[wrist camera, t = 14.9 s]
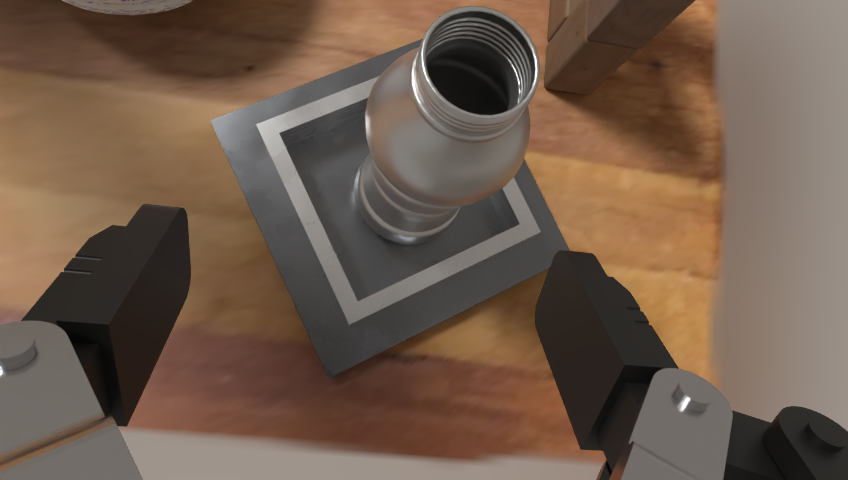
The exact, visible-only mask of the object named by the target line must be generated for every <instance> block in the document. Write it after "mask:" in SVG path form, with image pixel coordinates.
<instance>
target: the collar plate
mask: <svg viewBox="0 0 848 480" xmlns="http://www.w3.org/2000/svg"><path fill="white" fill-rule="evenodd" d="M422 40H423V39H421V40H418V41H416V42H413V43H411V44H408V45H405V46H403V47H400V48H398V49H395V50H392V51H390V52H387V53H384V54H382V55H379V56H377V57H374V58H371V59H369V60H366V61H364V62H361V63H358V64H356V65H353V66H351V67H348V68H345V69H343V70H340V71H338V72H335V73H332V74H330V75H327V76H325V77H322V78H319V79H317V80H314V81H312V82H309V83H306V84H304V85H301V86H299V87H296V88H293V89H291V90H288V91H286V92H283V93H280V94H278V95H275V96H272V97H270V98H267V99H265V100H262V101H259V102H257V103H254V104H252V105H249V106H246V107H244V108H241V109H239V110H236V111H233V112H231V113H228V114H226V115H223V116H220V117H218V118H215V119H213V120H210V121H211V123H212V126H213V128H214V130H215V132H216V134H217V137H218V139H219V141H220V143H221V145H222V147H223V150H224V152H225V154H226V156H227V158H228V160H229V163H230V165H231V167H232V169H233V171H234V173H235V176H236V178H237V180H238V182H239V184H240V187H241V189H242V191H243V193H244V195H245V197H246V200H247V202H248V204H249V206H250V208H251V210H252V213H253V215H254V217H255V219H256V221H257V224H258V226H259V228H260V230H261V232H262V234H263V237H264V239H265V241H266V243H267V245H268V247H269V250H270V252H271V254H272V256H273V258H274V260H275V263H276V265H277V267H278V269H279V271H280V274H281V276H282V278H283V280H284V282H285V284H286V287H287V289H288V291H289V293H290V295H291V297H292V300H293V302H294V304H295V306H296V308H297V311H298V313H299V315H300V317H301V319H302V321H303V324H304V326H305V328H306V330H307V332H308V334H309V337H310V339H311V341H312V343H313V345H314V348H315V350H316V352H317V354H318V356H319V358H320V361H321V363H322V365H323V367H324V369H325V371H326V374H327V376H328V378H331V377H333V376H335V375H337V374H339V373H341V372H343V371H345V370H347V369H349V368H351V367H353V366H355V365H357V364H359V363H361V362H363V361H365V360H367V359H369V358H371V357H373V356H375V355H377V354H379V353H381V352H383V351H385V350H387V349H389V348H391V347H393V346H395V345H397V344H399V343H401V342H403V341H405V340H407V339H409V338H411V337H413V336H415V335H417V334H419V333H421V332H423V331H425V330H427V329H429V328H431V327H433V326H435V325H437V324H439V323H441V322H443V321H445V320H447V319H449V318H451V317H453V316H454V315H456V314H458V313H460V312H462V311H464V310H466V309H468V308H470V307H472V306H474V305H476V304H478V303H480V302H482V301H484V300H486V299H488V298H490V297H492V296H494V295H496V294H498V293H500V292H502V291H504V290H506V289H508V288H510V287H512V286H514V285H516V284H518V283H520V282H522V281H524V280H526V279H528V278H530V277H532V276H534V275H536V274H538V273H540V272H542V271H544V270H546V269H548V268H550V266H551V263H552V260H553V258H554V256H555V254H556V253H557V252H558V251H559V250H565V251H569V249H568V247H567V245H566V243H565V241H564V239H563V237H562V235H561V233H560V231H559V229H558V227H557V225H556V223H555V221H554V219H553V217H552V215H551V213H550V211H549V209H548V207H547V205H546V203H545V201H544V199H543V197H542V195H541V192H540V190H539V188H538V186H537V184H536V182H535V180H534V178H533V176H532V174H531V172H530V170H529V168H528V166H527V164H526V162H525V160H523V163H522V165H521V166H520V168H519V170H518V171H517V173H516V175H515V176H514V177H513V178H512V179H511V180H510V181H509V183H508V184H507V185H506V186H505V187H503V188H502V189H500V190H499V191H497V192H496V193H495V194H493V195H491V196H489V197H487V198H485V199H483V200H481V201H478V202H476V203H473V204H470V205H465V206H462V207H461V210H460V212H459V214H458V217H457V218H456V220H455V222H454V223H453V225H452V226H451V227H450V228H449V229H448V230H447V231H446V232H445V233H444V234H442V235H441V236H440V237H438V238H436V239H434V240H432V241H429V242H426V243H421V244H402V243H396V242H393V241H391V240H388V239H386V238H384V237H382V236H381V235H379V234H377V233H376V232H375V231H374V230H373V229H372V228H371V227H370V226H368V224H367V223H366V222H365V220H364V219H363V218H362V216H361V214H360V212H359V210H358V208H357V205H356V201H355V196H354V184H355V178H356V174H357V172H358V169H359V167H360V165H361V164H362V162H363V161H364V159H365V158H366V157H367V155H368V154H369V153H370V150H369V146H368V142H367V139H366V123H365V112H366V106H367V100H368V97H369V95H370V92H371V90H372V87H373V85H374V84H375V82H376V81H377V79H378V78H379V76H380V75H381V73H382V72H383V71H385V70H386V69H387V68H388V67H389V66H390V65H391V64H392V63H393V62H394V61H396V60H397V59H398V58H399V57H401V56H402V55H404V54H406V53H407V52H409V51H411V50H413V49H416V48H418V47H420V45H421V42H422Z"/></svg>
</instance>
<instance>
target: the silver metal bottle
mask: <svg viewBox="0 0 848 480" xmlns="http://www.w3.org/2000/svg"><path fill="white" fill-rule="evenodd" d="M539 74H540V65H539V57H538V54H537V51H536V48H535V46H534V44H533V42H532V40H531V38H530V37H529V35H528V34H527V33H526V31H525V30H524V29H523V28H522V27H521V26H520V25H519V24H518V23H517V22H516V21H515V20H513V19H512V18H510V17H508V16H507V15H505V14H503V13H501V12H499V11H497V10H494V9H490V8H486V7H481V6H467V7H459V8H456V9H453V10H450V11H448V12H447V13H445V14H443V15H442V16H440V17H439V18H438V19H437V20H436V21H435V22H433V23H432V25H431V26H430V28H429V29H428V31H427V32H426V33H425V35H424V37H423V40H422V42H421V45H420V47H418V48H416V49H413V50H411V51H409V52H407V53H406V54H404V55H402V56H401V57H399V58H398V59H397V60H396V61H394V62H393V63H392V64H391V65H390V66H389V67H388V68H387V69H386V70H385V71H383V72H382V73H381V75H380V76H379V78H378V79H377V81H376V82H375V84H374V85H373V87H372V90H371V92H370V95H369V97H368V100H367V106H366V112H365V123H366V139H367V142H368V146H369V150H370V153H369V154H368V155H367V157H366V158H365V159H364V161H363V162H362V164H361V165H360V167H359V169H358V172H357V174H356V178H355V184H354V196H355V201H356V205H357V208H358V210H359V212H360V214H361V216H362V218H363V219H364V220H365V222H366V223H367V224H368V226H370V227H371V228H372V229H373V230H374V231H375V232H376V233H377V234H379V235H381V236H382V237H384V238H386V239H388V240H391V241H393V242H396V243H402V244H421V243H426V242H429V241H432V240H434V239H436V238H438V237H440V236H441V235H442V234H444V233H445V232H446V231H447V230H448V229H449V228H450V227H451V226H452V225H453V223H454V222H455V220H456V218H457V217H458V214H459V212H460V210H461V207H462V206H465V205H470V204H473V203H476V202H478V201H481V200H483V199H485V198H487V197H489V196H491V195H493V194H495V193H496V192H497V191H499V190H500V189H502V188H503V187H505V186H506V185H507V184H508V183H509V181H510V180H511V179H512V178H513V177H514V176H515V175H516V173H517V171H518V170H519V168H520V166H521V165H522V163H523V160H524V157H525V154H526V151H527V147H528V142H529V134H530V115H529V109H528V106H527V105H528V103H529V102H530V100H531V99H532V97H533V95H534V93H535V90H536V87H537V84H538V82H539Z"/></svg>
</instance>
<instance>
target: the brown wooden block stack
mask: <svg viewBox="0 0 848 480" xmlns="http://www.w3.org/2000/svg"><path fill="white" fill-rule="evenodd" d="M694 1H695V0H550V10H549V24H548V37H547V39H548V42H549V43H548V45H547V49H546V63H545V77H544V86H545V88H547V89H552V90H558V91H564V92H570V93H576V94H582V95H587V94H590V93H591V92H592V91H593V90H594V89H595V88H597V87H598V86H599V85H600V84H601V83H602V82H603V81H604V80H606V79H607V78H608V77H609V76H610V75H611V74H612V73H613V72H615V71H616V70H617V69H618V68H619V67H620V66H621V65H622V64H624V63H625V62H626V61H627V60H628V59H629V58H630V57H631V56H633V55H634V54H635V53H636V52H637V50H638V49H639V48H642V47H643V46H644V45H646V44H647V43H648V42H649V41H650V40H651V39H652V38H653V37H655V36H656V35H657V34H658V33H659V32H660V31H661V30H662V29H664V28H665V27H666V26H667V25H668V24H669V23H670V22H671V21H673V20H674V19H675V18H676V17H677V16H678V15H679V14H680V13H682V12H683V11H684V10H685V9H686V8H687V7H688V6H689V5H691V4H692V3H693V2H694Z"/></svg>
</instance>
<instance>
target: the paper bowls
mask: <svg viewBox="0 0 848 480" xmlns="http://www.w3.org/2000/svg"><path fill="white" fill-rule="evenodd" d="M62 1H64V2H66V3H69V4H71V5H74V6H76V7H79V8H82V9H85V10H89V11H94V12H100V13H106V14H115V15H140V14H148V13H157V12H162V11H169V10H172V9H175V8H178V7H181V6H183V5H185V4H187V3H190V2H191V1H193V0H62Z"/></svg>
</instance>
